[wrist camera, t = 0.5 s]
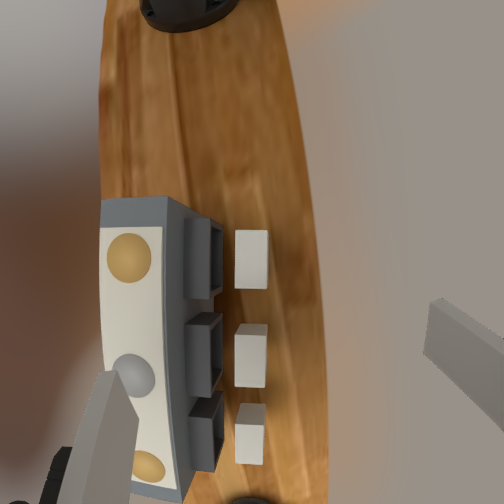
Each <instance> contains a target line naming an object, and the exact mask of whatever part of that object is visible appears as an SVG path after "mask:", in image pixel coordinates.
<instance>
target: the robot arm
mask: <svg viewBox="0 0 504 504" xmlns="http://www.w3.org/2000/svg"><path fill="white" fill-rule="evenodd" d="M139 1H140V10H141V13H142V14H143V16H144V18H145V20H146V21H147V23H148V24H149V25H150V26H152V27H153V28H155V29H157V30H160V31H165V32H185V31H191V30H195V29H199V28H202V27H205V26H207V25H210V24H212V23H214V22H216V21H218V20H220V19H221V18H223V17H224V16H226V15H227V14H228V13H229V12H230V11H231V10H232V9H233V8H234V7H235V6H236V4H237V2H238V0H139ZM423 354H424V355H425V356H427V357H428V358H429V359H430V360H431V361H432V362H433V363H434V364H435V365H436V366H437V367H438V368H439V369H440V370H441V371H442V372H443V373H444V374H445V375H447V376H448V377H449V378H450V379H451V380H452V381H453V382H454V383H455V384H456V385H457V386H458V387H459V388H460V389H461V390H462V391H463V392H464V393H465V394H466V395H467V396H469V398H470V399H471V400H473V402H474V403H476V405H478V406H479V407H480V408H481V409H482V410H483V411H484V412H485V413H486V414H487V415H488V416H489V417H490V418H491V419H492V420H493V421H494V422H495V423H496V424H497V425H498V426H499V427H500V428H501V429H502V430H503V432H504V338H501V337H500V336H498V335H497V334H496V333H494V332H493V331H491V330H490V329H488V328H487V327H485V326H484V325H482V324H481V323H479V322H478V321H476V320H475V319H474V318H472V317H470V316H469V315H467V314H466V313H464V312H463V311H461V310H460V309H458V308H457V307H455V306H454V305H452V304H451V303H449V302H448V301H446V300H445V299H443V298H441V299H438V300H435V301H433V302H430V306H429V316H428V323H427V331H426V339H425V346H424V351H423ZM139 420H140V419H139V417H138V415H137V413H136V411H135V409H134V407H133V405H132V403H131V401H130V399H129V396H128V394H127V392H126V390H125V388H124V385H123V383H122V381H121V378H120V376H119V374H118V371H117V370H110V371H100V372H99V374H98V377H97V379H96V382H95V385H94V387H93V390H92V393H91V396H90V398H89V401H88V404H87V407H86V409H85V412H84V415H83V418H82V421H81V424H80V426H79V429H78V432H77V435H76V439H75V442H74V445H73V447H61V449H60V450H59V451H58V452H57V454H56V455H55V456H54V458H53V461H52V464H51V467H50V471H49V473H48V476H47V480H46V482H45V485H44V488H43V492H42V495H41V499H40V502H39V504H129V496H130V487H131V478H132V470H133V462H134V454H135V447H136V440H137V433H138V426H139ZM10 504H29V503H27V502H25V501H14V502H11V503H10Z"/></svg>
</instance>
